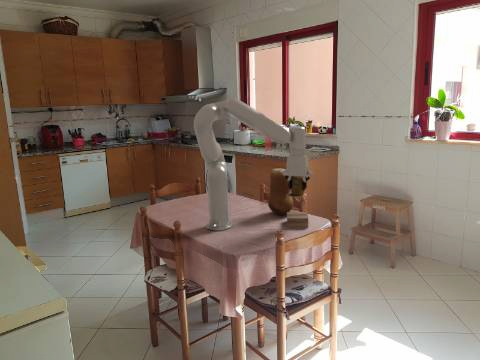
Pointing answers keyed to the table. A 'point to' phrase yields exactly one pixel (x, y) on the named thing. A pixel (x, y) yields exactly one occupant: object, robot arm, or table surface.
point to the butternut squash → (279, 193)
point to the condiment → (297, 187)
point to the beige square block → (297, 220)
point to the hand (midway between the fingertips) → (297, 188)
